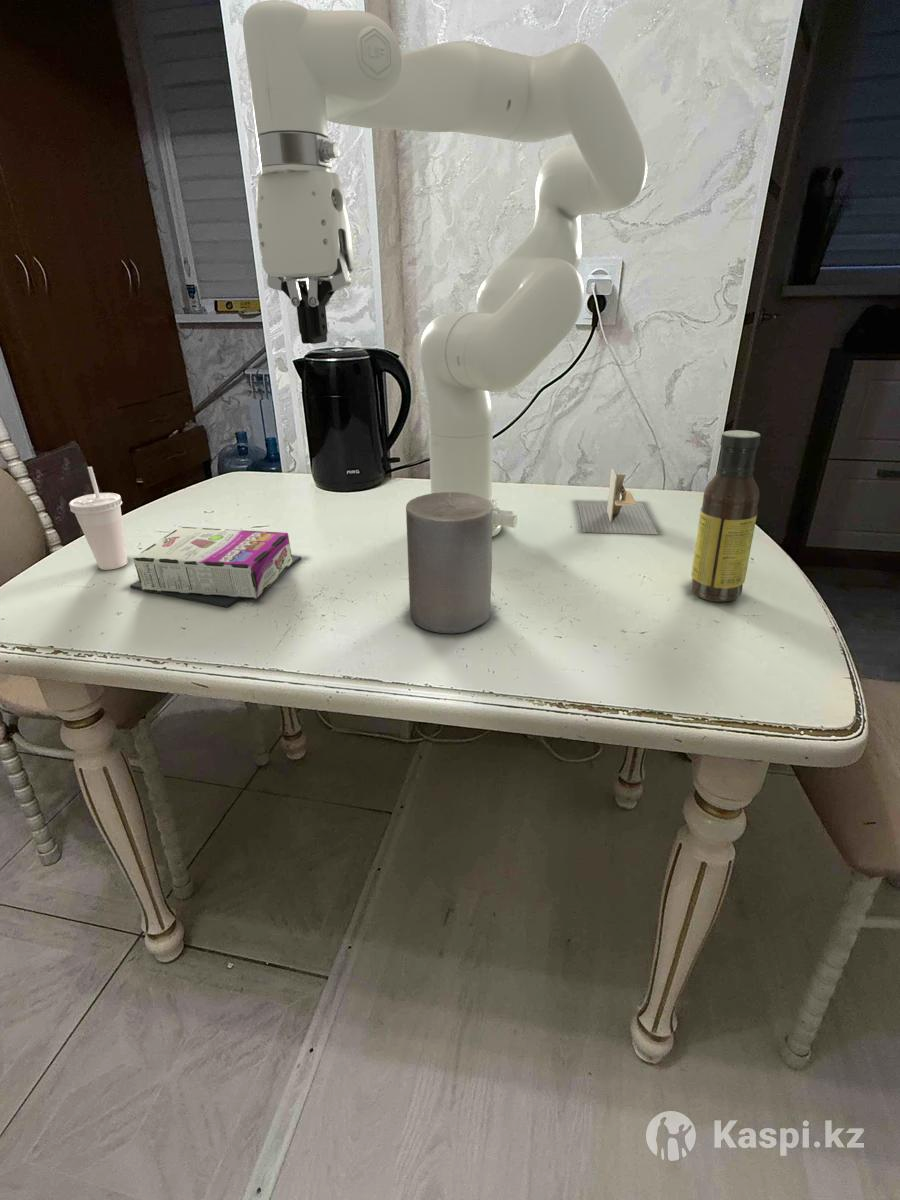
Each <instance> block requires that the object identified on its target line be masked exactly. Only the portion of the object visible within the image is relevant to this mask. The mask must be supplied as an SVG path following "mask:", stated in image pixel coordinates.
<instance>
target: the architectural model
mask: <svg viewBox="0 0 900 1200" xmlns="http://www.w3.org/2000/svg"><path fill="white" fill-rule="evenodd" d="M610 469H611V470H610V478H609V487H608V488H609V491H608V497H607V498H608V499H607V502H606V501H605V502H602V501H599V502H598V501H577V502H576V503H577V507H578V512H579V516H580V521H581V526H582V530H583V533H595V534H596V533H598V534H599V533H600V534H631V535H633V534H636V535H637V534H638V535H639V534H640V535H658V532H657V529H656V528H655V526H654V524H653V522H652V520H651V518H650V515H649V514H648V512H647V510H646V507H645V506H644V504H643V502H636V500H635V498H634V497H633V494H632V492H631V490H626V488H625V485H624V482H625V478H626V473H616V472H615V470H614V468H610Z"/></svg>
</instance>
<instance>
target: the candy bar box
mask: <svg viewBox="0 0 900 1200" xmlns="http://www.w3.org/2000/svg"><path fill="white" fill-rule="evenodd" d="M292 555H293V554H292V549H291V544H290V538H289V533H288V532H281V531H279V532H278V531H264V530H263V531H261V530H245V529H227V528H209V527H191V526H179V527H177V528H176V529H175V530H173V531H171V532H170V533H169V534H167V535H166V536H164V537H162V538H161V539H159V540H158V541H156V542H154V543H153V544H152V545H150V546H149V547H147V548H146V549H144V550H142V551H141V552H140V553H138V554H136V555H135V556H133V558H132V560H133V563H134V566H135V569H136V573H137V578H138V581H139V582H140V585H141V588H142V590H141V591H144V590H150V591H163V592H177V593H193V594H203V595H217V596H229V597H242V599H243V598H244V599H255V600H256V599H258V598H260V596H261V595H262V594H263V593H265V591H266V590H267V589H268V588H269V587H270V586H271V585H272V584H273V583H274V582H275V581H276V580H277V579H278V578H279V577H280V576H281V575H282V574H283V573H284V572H285V571H286V570H287V569H289V568H290V567H291V566H290V565H291V564H292ZM289 566H290V567H289Z"/></svg>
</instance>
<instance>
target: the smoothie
mask: <svg viewBox="0 0 900 1200" xmlns="http://www.w3.org/2000/svg"><path fill="white" fill-rule="evenodd" d="M87 471H88V475H89V478H90V482H91V486H92V489H93V492H94V493H90V494H85V495H82V496H78V497H76V498H74V499H72V500H70V502H68V506H69V508H70V509H69V511H70V512H71V513H73V514H74V515H75V517H76V520H77V522H78V524H79V526H80V528H81V531H82V533H83V535H84V537H85V540H86V542H87V544H88V546H89V549H90V551H91V553H92V555H93V557H94V559H95V561H96V563H97V565H98V568H99V569H100V570H105V571H108V570H109V571H111V570H115V569H119V568H120V569H121V568H122V567H124V566H126V565H127V564H128V555H127V548H126V540H125V532H124V531H125V530H124V524H123V516H122V507H121V506H122V505H123V501H122V497H121V495H120V494H119V493H114V492H100V490H99V487H98V484H97V480H96V476H95V473H94V469H93V466H87Z"/></svg>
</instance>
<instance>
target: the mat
mask: <svg viewBox="0 0 900 1200" xmlns="http://www.w3.org/2000/svg"><path fill="white" fill-rule="evenodd" d="M291 555H292V564H291V565H290V566H289V567H288V568H290V567H292V566H293V565H294V564H296V563H297V562H299V561H301V560H302V556H299V555H294V554H291ZM129 587H130V589H135V590H140V591H145V592H149V593H154V594H157V595H158V594H159V595H163V596H168V597H172V598H173V597H174V598H179V599H184V600H189V601H193V602H198V603H204V604H208V605H212V606H218V607H223V608H230V607H231V606H232V605H234V604H235V603H237V602H239V601H240V600H242V599H243V598H242V597H229V596H217V595H203V594H193V593H177V592H163V591H150V590H142V588H141V585H140V582H139V580H137V581H136V582H134V583H131V584H129Z"/></svg>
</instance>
